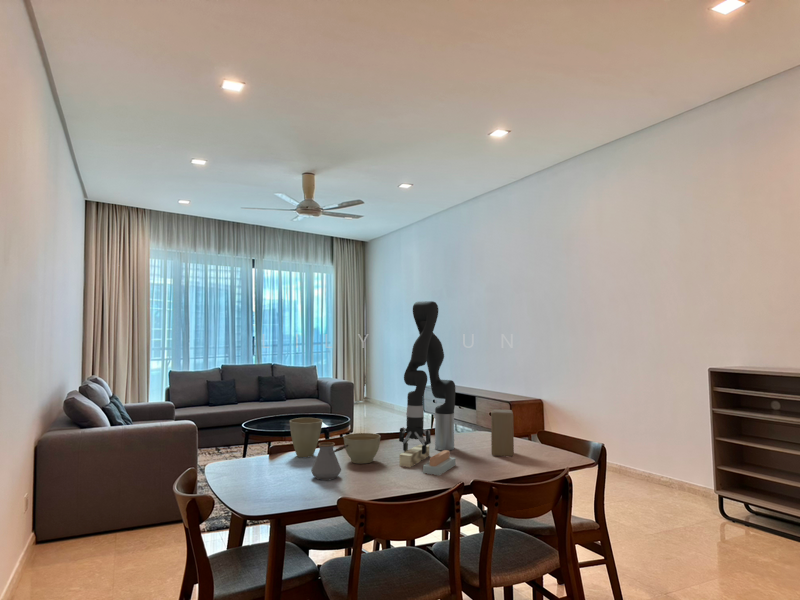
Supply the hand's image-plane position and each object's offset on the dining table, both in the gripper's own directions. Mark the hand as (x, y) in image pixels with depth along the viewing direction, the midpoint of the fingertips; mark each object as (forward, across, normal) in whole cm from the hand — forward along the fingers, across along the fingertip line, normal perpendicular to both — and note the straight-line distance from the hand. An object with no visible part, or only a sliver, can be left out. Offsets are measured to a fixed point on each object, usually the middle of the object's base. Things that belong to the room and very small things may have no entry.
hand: (414, 452), depth 222 cm
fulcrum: (+4, -15, +8) cm, 17 cm away
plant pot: (+4, +48, +14) cm, 50 cm away
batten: (+4, 0, 0) cm, 4 cm away
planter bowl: (+4, +20, +11) cm, 23 cm away
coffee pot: (+4, +15, +41) cm, 44 cm away
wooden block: (+3, -31, -30) cm, 44 cm away
